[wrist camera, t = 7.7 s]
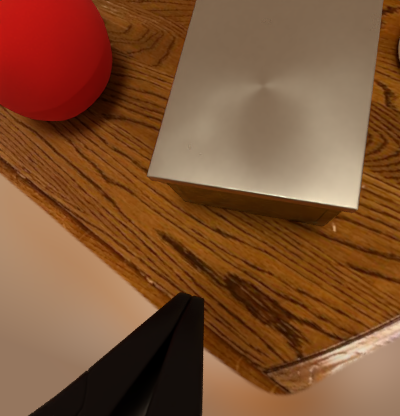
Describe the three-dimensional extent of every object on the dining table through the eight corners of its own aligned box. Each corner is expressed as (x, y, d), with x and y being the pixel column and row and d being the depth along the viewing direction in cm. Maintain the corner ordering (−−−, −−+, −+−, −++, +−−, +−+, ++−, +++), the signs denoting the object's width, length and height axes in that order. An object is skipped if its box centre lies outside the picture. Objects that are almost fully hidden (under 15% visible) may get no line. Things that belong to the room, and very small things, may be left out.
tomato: (84, 159, 27) (-35, 81, 16) (6, 108, 32) (-130, 18, 21) (154, 61, 29) (88, -74, 18) (70, 24, 33) (-26, -104, 22)
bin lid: (353, 213, 14) (358, 209, 13) (151, 180, 17) (146, 176, 16) (378, 6, 16) (384, -7, 16) (198, 9, 19) (196, -1, 19)
